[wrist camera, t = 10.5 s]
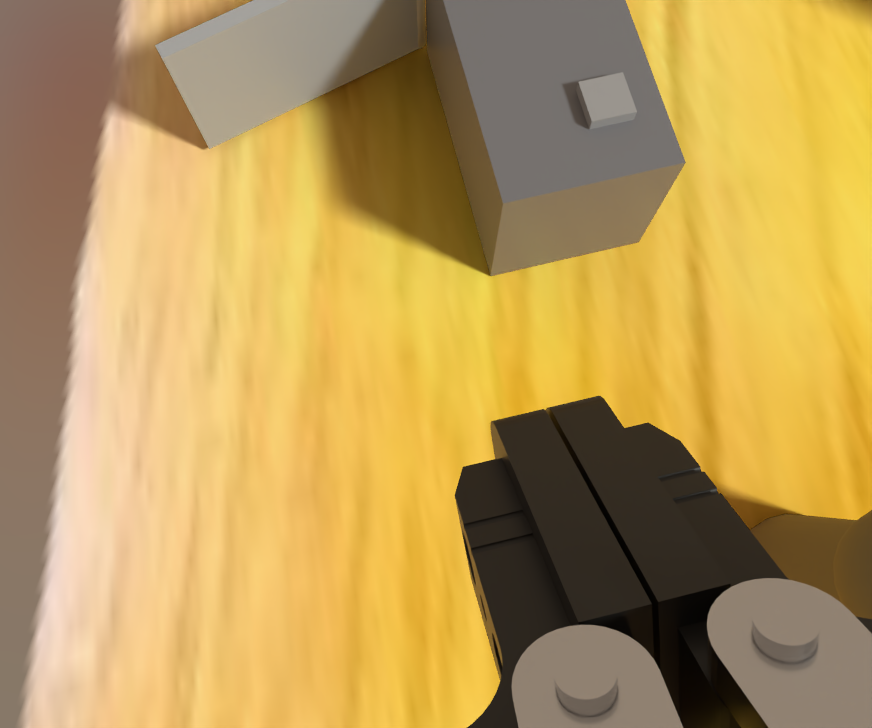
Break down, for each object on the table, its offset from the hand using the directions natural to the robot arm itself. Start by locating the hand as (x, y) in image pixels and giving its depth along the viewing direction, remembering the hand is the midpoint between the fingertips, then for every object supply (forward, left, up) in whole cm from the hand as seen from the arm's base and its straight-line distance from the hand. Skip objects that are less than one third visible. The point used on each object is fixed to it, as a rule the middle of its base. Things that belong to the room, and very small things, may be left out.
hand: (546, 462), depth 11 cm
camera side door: (+2, -26, -27) cm, 37 cm away
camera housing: (-8, -20, -27) cm, 35 cm away
